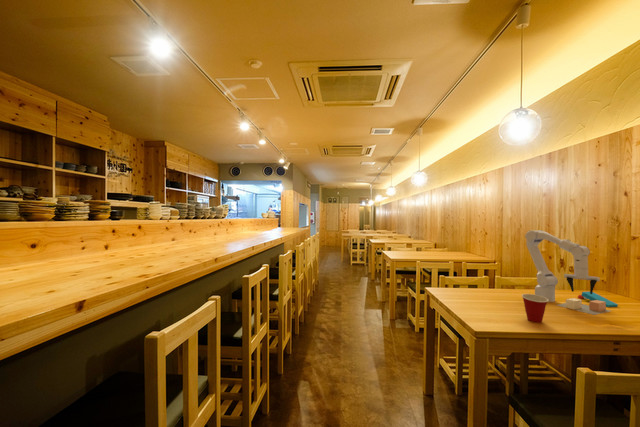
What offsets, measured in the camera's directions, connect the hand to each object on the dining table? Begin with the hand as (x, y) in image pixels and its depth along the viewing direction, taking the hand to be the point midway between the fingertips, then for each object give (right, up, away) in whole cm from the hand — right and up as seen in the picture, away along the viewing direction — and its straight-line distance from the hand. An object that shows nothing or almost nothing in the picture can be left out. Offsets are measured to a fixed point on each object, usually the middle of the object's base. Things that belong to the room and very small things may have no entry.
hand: (581, 292), depth 160 cm
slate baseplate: (+2, -10, +1) cm, 10 cm away
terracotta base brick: (+7, -9, -2) cm, 12 cm away
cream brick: (-3, -9, +2) cm, 10 cm away
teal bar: (+19, -11, +13) cm, 26 cm away
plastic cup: (-39, -10, -17) cm, 43 cm away
